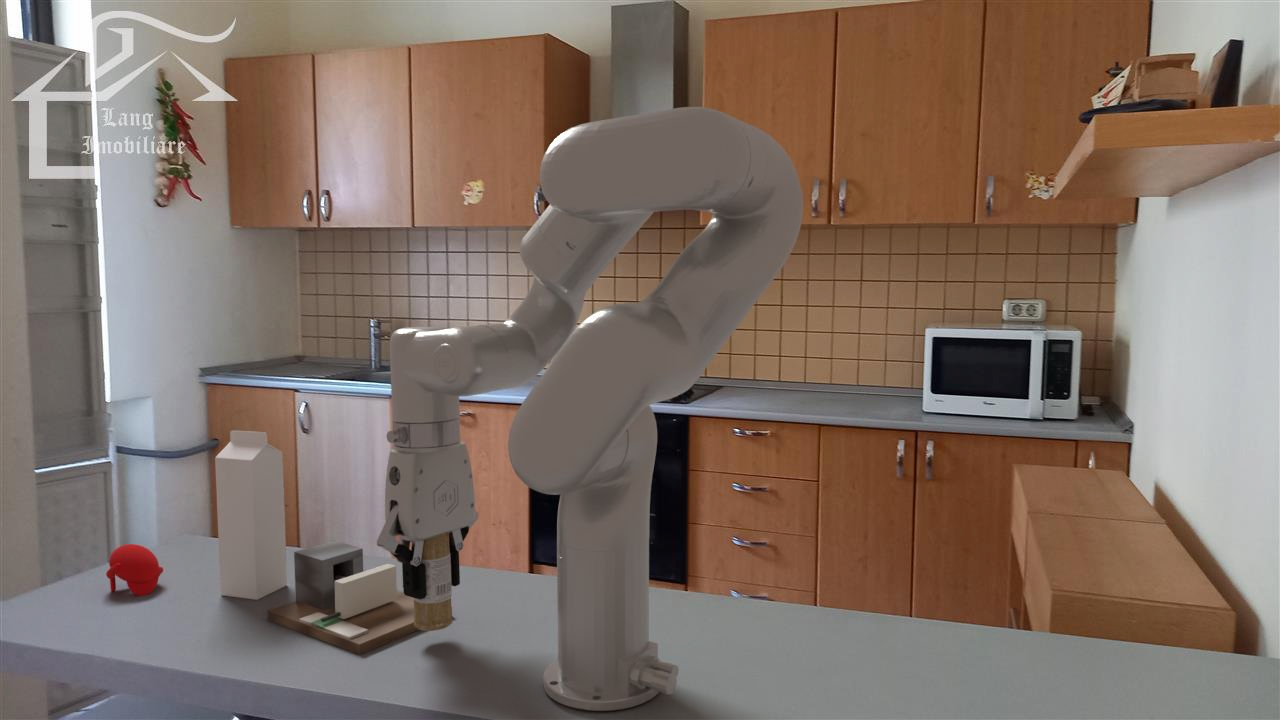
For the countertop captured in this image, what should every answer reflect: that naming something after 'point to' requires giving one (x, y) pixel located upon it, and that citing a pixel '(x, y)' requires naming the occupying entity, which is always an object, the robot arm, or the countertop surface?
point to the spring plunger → (364, 591)
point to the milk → (250, 516)
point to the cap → (134, 568)
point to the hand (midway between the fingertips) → (432, 588)
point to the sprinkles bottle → (435, 586)
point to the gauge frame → (319, 601)
